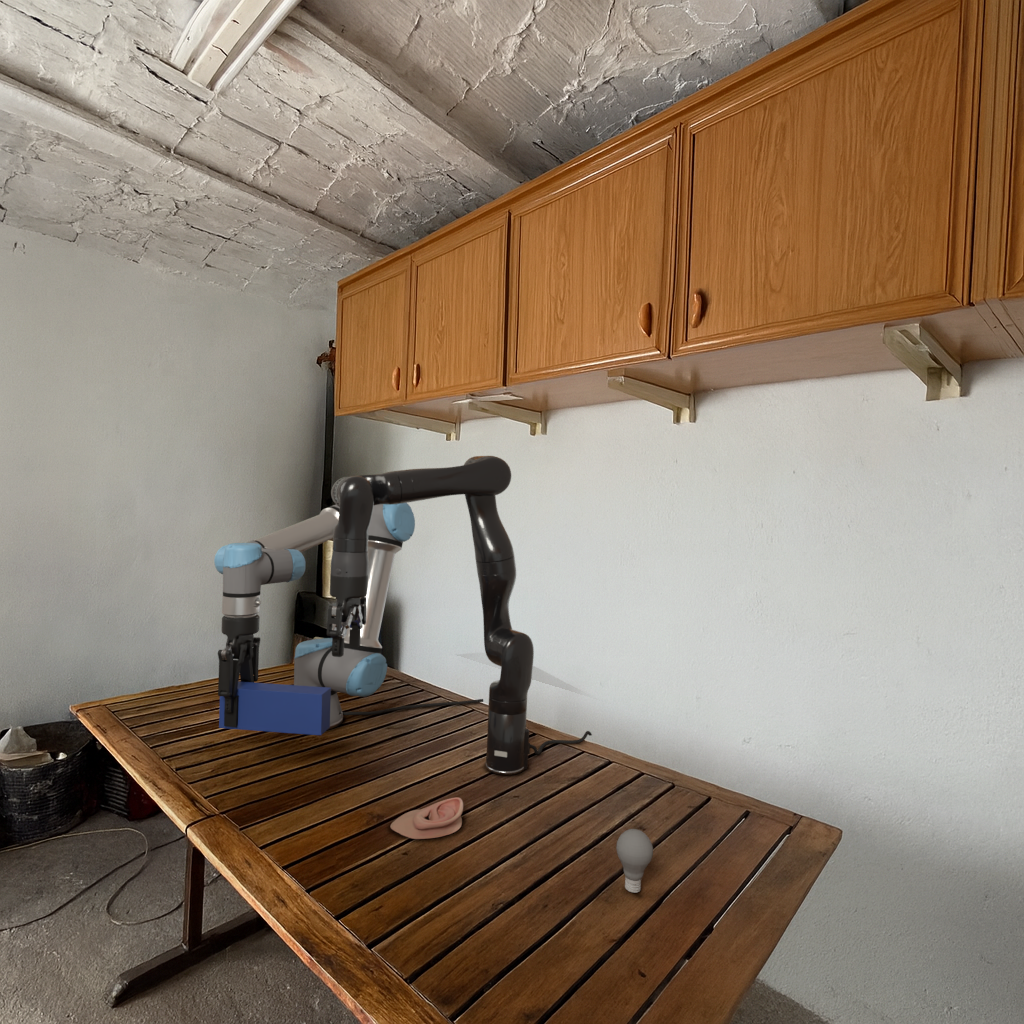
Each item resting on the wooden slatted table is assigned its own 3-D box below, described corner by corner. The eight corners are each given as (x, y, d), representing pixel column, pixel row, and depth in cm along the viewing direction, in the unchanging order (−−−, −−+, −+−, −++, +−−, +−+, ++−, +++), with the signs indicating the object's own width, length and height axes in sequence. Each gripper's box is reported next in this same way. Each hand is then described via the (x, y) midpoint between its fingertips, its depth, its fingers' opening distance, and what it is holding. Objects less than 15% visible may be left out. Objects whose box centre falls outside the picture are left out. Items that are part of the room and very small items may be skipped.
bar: (218, 728, 135) (219, 687, 135) (231, 720, 140) (232, 681, 140) (321, 735, 133) (322, 694, 133) (329, 727, 138) (330, 687, 138)
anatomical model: (384, 813, 120) (406, 787, 131) (383, 834, 120) (405, 806, 131) (452, 824, 117) (468, 796, 128) (451, 845, 117) (467, 815, 128)
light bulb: (610, 879, 108) (613, 822, 108) (644, 879, 109) (647, 822, 109) (619, 902, 102) (622, 840, 102) (655, 901, 103) (658, 840, 103)
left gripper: (235, 624, 128) (232, 738, 128) (277, 608, 145) (273, 708, 146) (200, 621, 128) (197, 735, 129) (245, 606, 146) (242, 706, 147)
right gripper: (352, 578, 122) (349, 661, 123) (379, 570, 137) (376, 645, 137) (316, 575, 124) (313, 658, 124) (346, 568, 138) (343, 642, 138)
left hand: (237, 721), depth 137 cm, fingers closed on bar, 5 cm apart
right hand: (346, 651), depth 130 cm, fingers open, 8 cm apart
